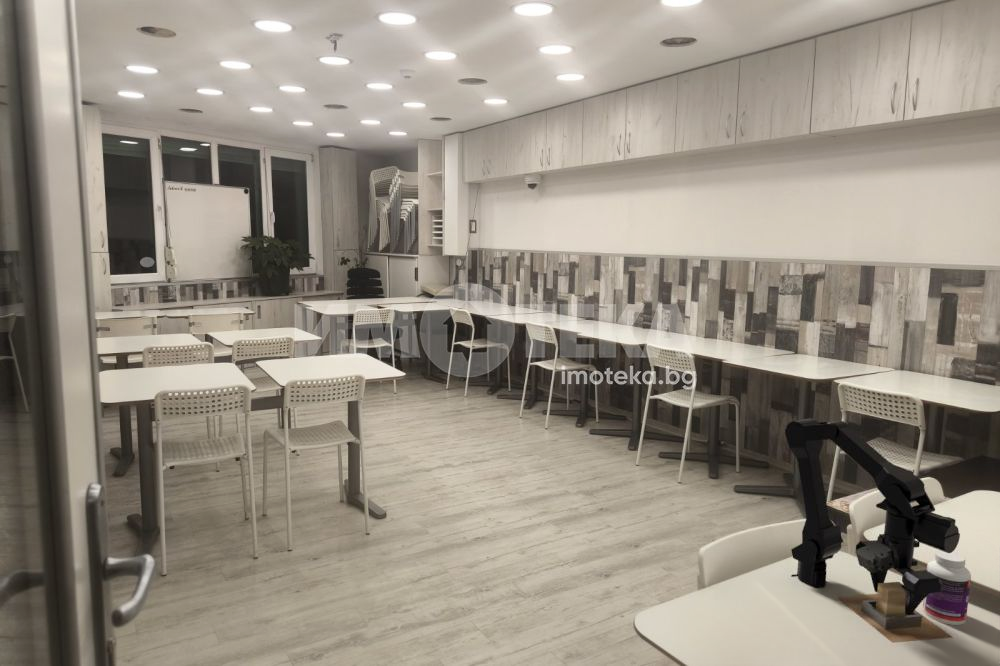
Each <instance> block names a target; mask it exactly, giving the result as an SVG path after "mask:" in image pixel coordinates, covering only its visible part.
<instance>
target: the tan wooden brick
mask: <svg viewBox="0 0 1000 666" xmlns="http://www.w3.org/2000/svg"><path fill="white" fill-rule="evenodd" d="M901 585H904V584H903V583H902V582H900V581H891V582H889V581H888V582H884V583H878V591H877V593H876V594H877V601H876V609H877V610H878V611H880V612H881V613H882V614H884V615H885V616H886V617H893V616H906V614H905V596H906V592H905V591H904V589H903V588H902V587H901Z"/></svg>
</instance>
